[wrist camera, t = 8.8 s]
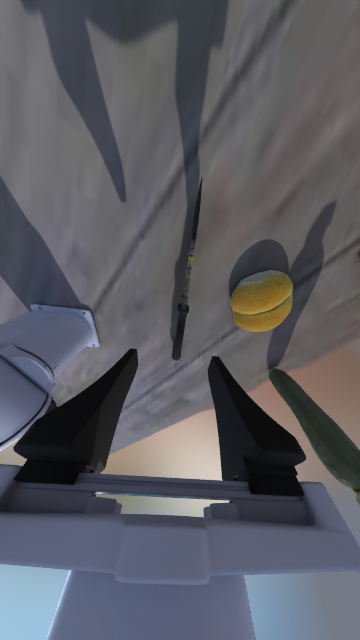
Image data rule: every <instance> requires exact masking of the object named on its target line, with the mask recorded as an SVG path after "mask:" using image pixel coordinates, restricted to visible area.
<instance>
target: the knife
mask: <svg viewBox="0 0 360 640" xmlns="http://www.w3.org/2000/svg"><path fill="white" fill-rule="evenodd" d="M201 189H202V179H201V183H200V186H199V192H198V197H197V201H196V207H195V214H194V221H193V228H192V235H191V243H190V250H189V258H188V265H187V273H186V280H185V288H184V293H183V295H182V302H181V303H180V304H179V305H178V312H179V316H178V325H177V334H176V340H175V341H174V344H173V353H172V358H173V359H174V360H176V361H177V360H179V359H180V358H181V347H182V341H183V335H184V328H185V321H186V316H187V314H188V313H189V306H188V305H187V301H188V289H189V282H190V275H191V269H192V262H193V255H194V248H195V241H196V233H197V227H198V220H199V211H200V204H201Z"/></svg>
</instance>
